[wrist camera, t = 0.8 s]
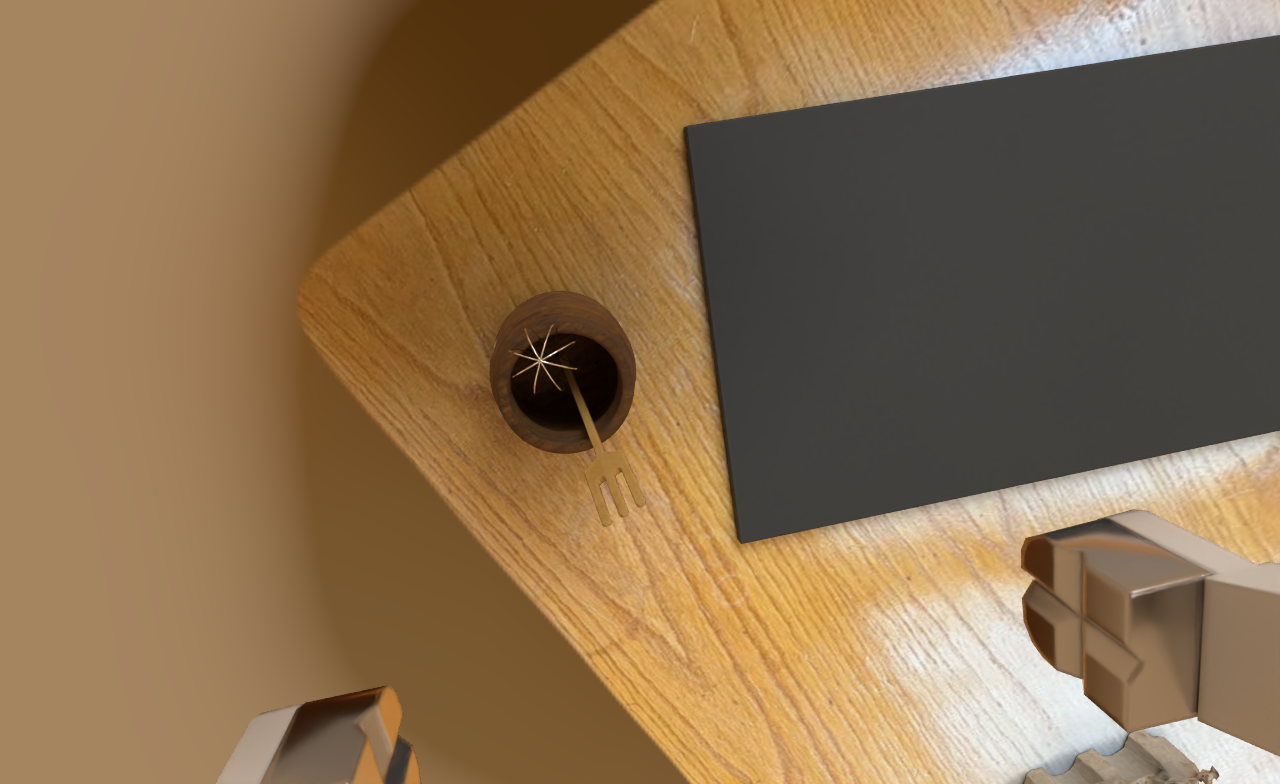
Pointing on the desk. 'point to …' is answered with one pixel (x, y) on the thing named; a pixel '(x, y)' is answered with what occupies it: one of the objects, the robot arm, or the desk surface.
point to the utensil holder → (568, 384)
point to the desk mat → (991, 281)
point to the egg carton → (1130, 766)
